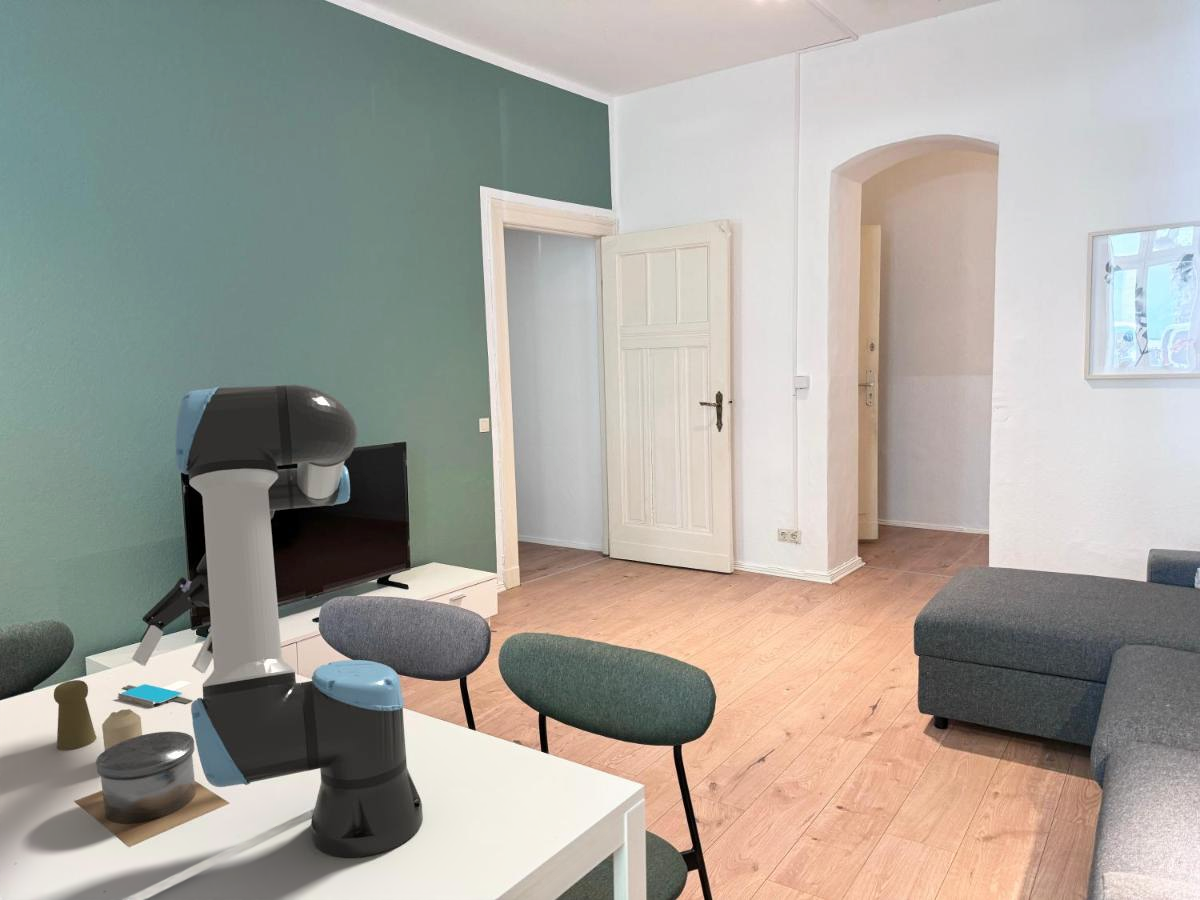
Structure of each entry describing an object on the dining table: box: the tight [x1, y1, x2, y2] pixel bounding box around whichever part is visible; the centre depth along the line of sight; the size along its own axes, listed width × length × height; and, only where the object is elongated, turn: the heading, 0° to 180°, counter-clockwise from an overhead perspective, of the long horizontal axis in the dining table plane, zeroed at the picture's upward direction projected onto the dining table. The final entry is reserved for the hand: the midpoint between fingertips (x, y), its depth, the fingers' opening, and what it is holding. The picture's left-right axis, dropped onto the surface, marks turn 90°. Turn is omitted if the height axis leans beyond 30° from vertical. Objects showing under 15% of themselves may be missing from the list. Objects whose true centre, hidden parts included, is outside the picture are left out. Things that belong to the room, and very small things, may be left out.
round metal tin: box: [95, 731, 196, 824], centre depth 128 cm, size 13×13×8 cm
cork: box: [53, 679, 97, 751], centre depth 152 cm, size 6×6×11 cm
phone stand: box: [117, 680, 194, 708], centre depth 174 cm, size 20×12×2 cm, turn 62°
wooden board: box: [73, 780, 230, 848], centre depth 128 cm, size 20×14×2 cm
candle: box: [101, 708, 143, 751], centre depth 141 cm, size 6×6×10 cm
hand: (167, 666), depth 149 cm, fingers open, 13 cm apart
